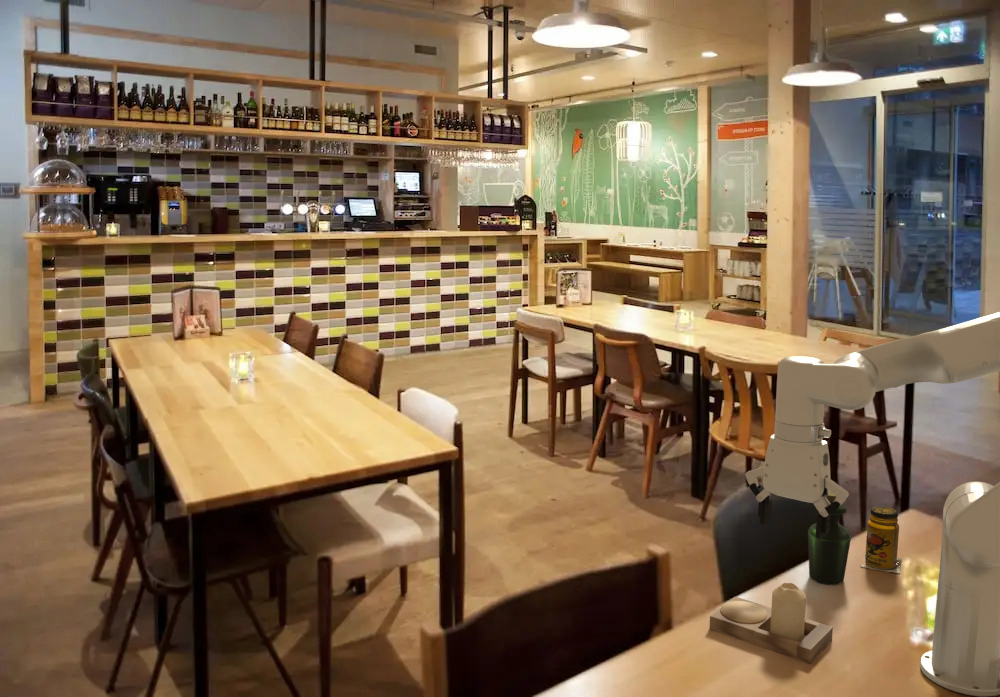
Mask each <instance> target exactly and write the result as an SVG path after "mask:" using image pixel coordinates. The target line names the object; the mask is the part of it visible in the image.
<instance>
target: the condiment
mask: <svg viewBox="0 0 1000 697" xmlns="http://www.w3.org/2000/svg"><path fill="white" fill-rule="evenodd" d="M869 511H870V514H869V520H868V521H867V526H866V539H865V540H866V541H865V551H864V554H865V553H866V554H865V555H864V554H863V558H862V560H863V559H865V563H866V564H862V563H861V565H860V567H861V568H866V569H871V570H875V571H880V572H881V571H882V572H888V573H889V572H890V573H895V574H900V571H901V566H902V560H903V559H902V557H898V550H899V549H898V547H899V534H900V525H899V523H898V521H899V519H898V518H899V512H898V511H897V510H896V509H894V508H892V507H887V506H872V507H871V508H870V510H869ZM864 556H865V558H864ZM897 559H898V560H897ZM897 562H899V563H897ZM896 563H897V564H898V565H896ZM864 565H866V566H865V567H864ZM899 566H900V567H899Z"/></svg>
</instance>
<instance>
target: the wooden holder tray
mask: <svg viewBox="0 0 1000 697" xmlns="http://www.w3.org/2000/svg"><path fill="white" fill-rule="evenodd" d="M771 608H772V607H770V606H766V605H763V604H761V603H757V602H754V601H751V600H747V599H745V598H741V597H738V596H734V597H733V598H732V599H730V600H729V601H727V602H725V603H723V604H721V606H720V608H718V609H717V610H716V611H714V612H712V614H710V616H709V630H712V631H715V632H717V633H720V634H722V635H726V636H728V637H731V638H734V639H736V640H739V641H743V642H745V643H749V644H752V645H754V646H757V647H760V648H763V649H766V650H769V651H771V652H774V653H777V654H780V655H783V656H786V657H789V658H791V659H794V660H797V661H800V662H803V663H806V664H809V665H810V664H811V663H812V662H814V660H815V659H816V658H817V657H818V656H819V655H820V654H821V653H822V651H823V650H825V648H827V647H828V646H829V645H830V644H831V643H832V641H833V634H834V632H833V630H834V627H833V626H830V625H827V624H823V623H820V622H817V621H814V620H811V619H807V618H805V626H804V639H803V640H802V641H801V642H798V641H795V640H792V639H789V638H786V637H783V636H780V635H777V634H774V633H771V632H770V626H771Z"/></svg>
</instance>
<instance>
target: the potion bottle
mask: <svg viewBox="0 0 1000 697" xmlns="http://www.w3.org/2000/svg"><path fill="white" fill-rule="evenodd" d="M826 498H827V499H828V501H829V502H830V504H831V503H833V502H834V500H835V499H836V495H835V494H834V493H832V492H831V491H830V493H829V495H828V496H827V497H826ZM814 508H815V509H816V510H817V508H816V507H815V506H814ZM847 512H848V509H847V506H846V504H845V502H844V503H843V504H842V506H841V507H840V508H838V509H837V510H835V511H834V512H832V513H831V515H830V530H829V533H828V534H826V535H825V536H824V537H823V538H821V539H817V538H816V522H815V523H813V524H811V526H810V527H809V528H808V531H807V541H808V543H807V545H808V547H807V548H808V575H809V577H810V578H811V580H812V581H815V582H816V583H818V584H822V585H827V586H835V585H836V586H837V585H841V583H843V582H844V580H845V575H846V571H847V563H848V557H849V554H850V552H849V551H850V546H851V541H852V534H851V532H850V530H848V528H847V527H845V526H844V525H842V524H840V523H839V520H840V518H841V516H842V515H844V514H846V513H847Z"/></svg>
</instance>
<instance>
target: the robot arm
mask: <svg viewBox="0 0 1000 697" xmlns="http://www.w3.org/2000/svg"><path fill="white" fill-rule="evenodd" d="M998 372H1000V311H998V312H995V313H992V314H988V315H985V316H981V317H977V318H975V319H971V320H968V321H963V322H961V323H958V324H954V325H951V326H947V327H943V328H940V329H936V330H932V331H927V332H923V333H920V334H917V335H913V336H908V337H905V338H900V339H896V340H892V341H889V342H885V343H881V344H877V345H875V346H871V347H867V348H864V349H860V350H857V351H853V352H851V353H848V354H847V353H846V354H845V355H843V356H841V357H840V358H838V359H837V360H836V361H835V362H834V363H832V364H831V363H825V362H824V361H823V360H822V359H820V358H817V357H812V356H803V355H793V356H785V357H783V358H782V359H780V361H779V362H778V364H777V376H776V377H777V378H776V395H775V400H776V401H775V415H774V416H775V417H774V418H775V420H774V431H773V432H774V433H773V434H771V435H770V438H769V440H768V441H769V442H768V445H767V449H766V453H765V459H764V465H763V466H760V467H757V468H754V469H751V470H748V471H747V472H745V473H744V475H745V479H746V481H747V483H748V485H749V489H750V491H751V492H752V493H753V494H754V496H755V499H756V501H757V502H758V512H757V517H758V518H759V525H761V526H765V525H766V524H768V523H769V522H771V521H772V512H773V511H772V509H773V508H772V507H773V500H772V498H771V495H773V496H778V497H782V498H783V497H784V498H786V499H791V500H796V501H800V502H804V503H805V502H806V503H809V504H810V503H811V504H813V505H814V508H815V507H816V508H817V509H816V508H815V509H816V510H817V511H818V513H819V514H818V515H817V516H816V522H815V523H816V538H817V539H821V538H823V537H824V536H825V535H826V534H828V533H829V530H830V515H831V513H832V512H834V511H835V510H837V509H838V508H840V507H841V506H842V504H843V503H844V504H845V501H846V500H847V499H848V497H849V496H850V493H849V491H848V490H846V489H845V488H844V487H843V486H841V485H839V484H838V483H837V482H836V481H834V480H832V479H831V462H830V452H829V450H830V449H829V446H828V442H827V441H826V440H823V439H825V438H827V439H828V438H829V439H830V437H831V435H832V429H827V428H826V426H825V423H824V411H825V406H827V407H828V406H829V407H832V408H835V409H840V410H845V411H846V410H847V411H855V410H861V409H863V408H865V407H867V406H868V405H869V404H870V403H871V402H872V401H873V399H874V398H875V396H876V392H877V393H878V392H881V391H885V390H889V389H893V388H896V387H900V386H905V385H909V384H915V383H935V384H944V385H946V384H956V383H958V384H959V383H961V382H965V381H968V380H972V379H976V378H979V377H983V376H986V375H991V374H995V373H998ZM760 476H762V484H760V482H759V481H758V477H760ZM830 491H831V492H832V493H834V494H835V495H836V499H835V500H834V502H833V503H831V504H830V502H829V501H828V499H827V498H826V497H827V496H828V495H829V493H830ZM941 525H942V526H941V527H942V529H941V530H942V531H941V549H940V561H939V562H940V563H939V573H938V581H937V594H936V601H935V602H936V604H935V612H934V614H935V616H934V625H933V634H932V636H933V637H932V647H931V650H929V651H927V652H925V653H924V654H922V656H921V657H920V661H919V665H920V666H919V668H920V669H921V671H922V673H923V675H925V676H926V677H927V678H928V679H929V680H931V681H932V682H934V683H935V684H937V685H939V686H940V687H942V688H945V689H947V690H949V691H952V692H955V693H960V694H962V695H968V696H974V697H996V696H999V695H1000V481H999V482H998V483H997V484H995V485H993V484H990V483H987V482H984V481H968V482H966V483H965V482H964V483H962V484H959V485H958V486H957V487H955V488H954V489H953V490H952V491H951V492H950V493H949V495H948V496H947V498H946V500H945V502H944V505H943V512H942V524H941Z"/></svg>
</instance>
